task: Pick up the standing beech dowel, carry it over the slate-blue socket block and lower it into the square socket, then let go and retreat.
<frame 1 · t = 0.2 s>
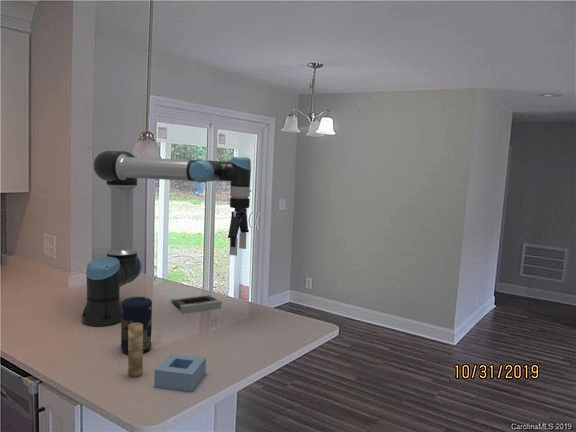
hand: (238, 251, 178), 28 cm above the counter, fingers open, 13 cm apart
dowel: (135, 374, 134), on the counter
gray rectangular tray: (195, 306, 198), on the counter
canister: (136, 350, 151), on the counter
socket block: (180, 380, 131), on the counter
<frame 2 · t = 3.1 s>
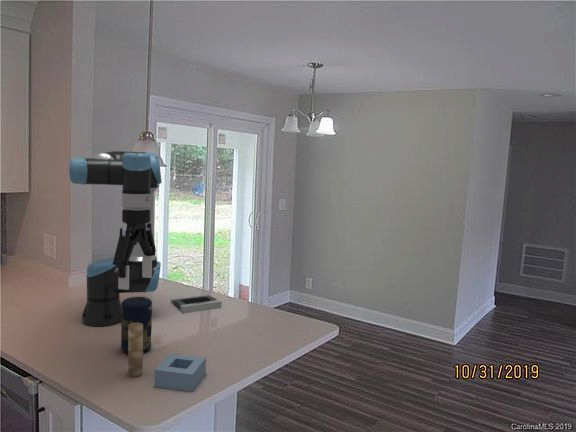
hand: (135, 283, 130), 28 cm above the counter, fingers open, 13 cm apart
nothing on the counter moved.
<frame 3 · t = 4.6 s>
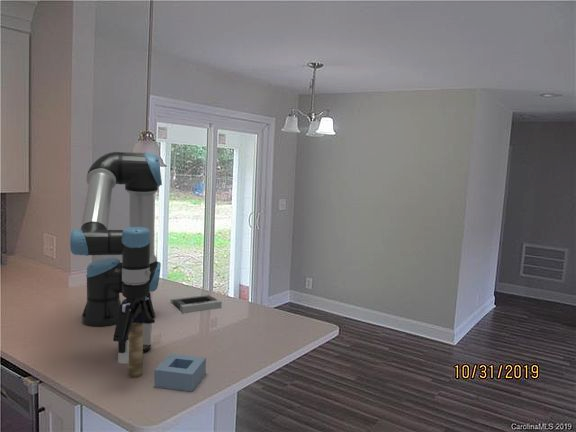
hand: (135, 353, 133), 7 cm above the counter, fingers open, 13 cm apart
nothing on the counter moved.
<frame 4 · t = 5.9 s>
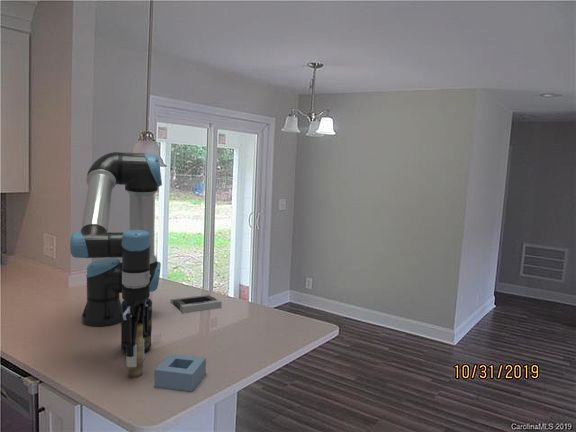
hand: (135, 362, 133), 4 cm above the counter, fingers closed on dowel, 4 cm apart
dowel: (135, 374, 134), on the counter, touching gripper
everything else where it was.
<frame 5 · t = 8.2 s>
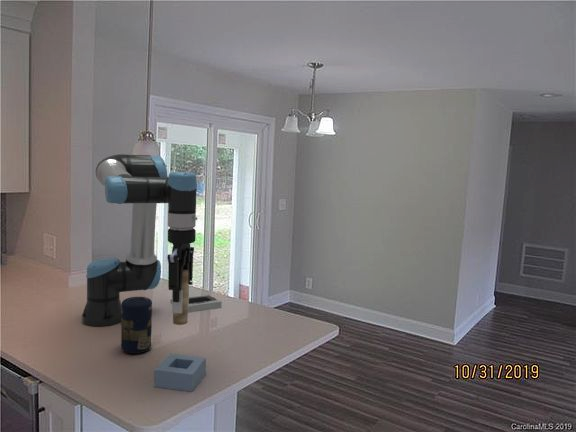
hand: (180, 309, 129), 21 cm above the counter, fingers closed on dowel, 4 cm apart
dowel: (180, 322, 129), point 17 cm above the counter, touching gripper
everything else where it was.
when the fingers open (6 cm above the counter, at t = 10.7 s): dowel drops 1 cm, resting on socket block.
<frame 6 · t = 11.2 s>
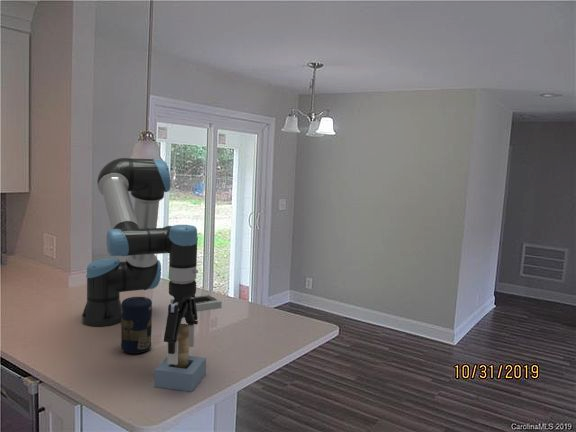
hand: (181, 354, 130), 8 cm above the counter, fingers open, 11 cm apart
dowel: (180, 376, 131), point 1 cm above the counter, touching socket block
everything else where it was.
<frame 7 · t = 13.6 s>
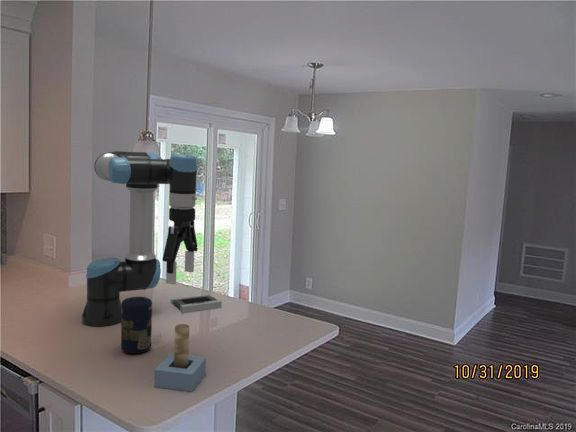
hand: (180, 277, 137), 28 cm above the counter, fingers open, 13 cm apart
nothing on the counter moved.
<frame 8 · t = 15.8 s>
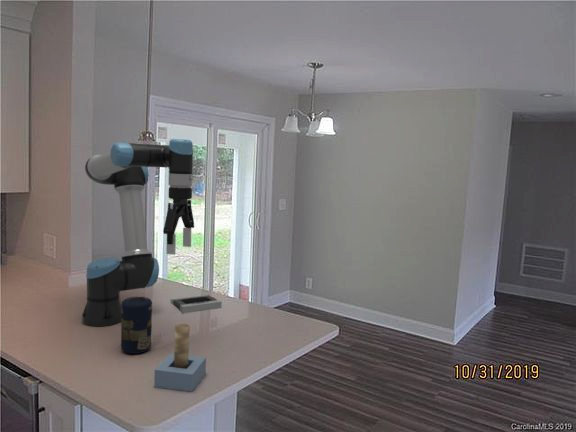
hand: (179, 250, 153), 33 cm above the counter, fingers open, 13 cm apart
nothing on the counter moved.
at the end: dowel 0.0 cm off-centre on the socket block, point 1.0 cm above the socket block's base; dowel tilted 1°; the gripper is holding nothing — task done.
